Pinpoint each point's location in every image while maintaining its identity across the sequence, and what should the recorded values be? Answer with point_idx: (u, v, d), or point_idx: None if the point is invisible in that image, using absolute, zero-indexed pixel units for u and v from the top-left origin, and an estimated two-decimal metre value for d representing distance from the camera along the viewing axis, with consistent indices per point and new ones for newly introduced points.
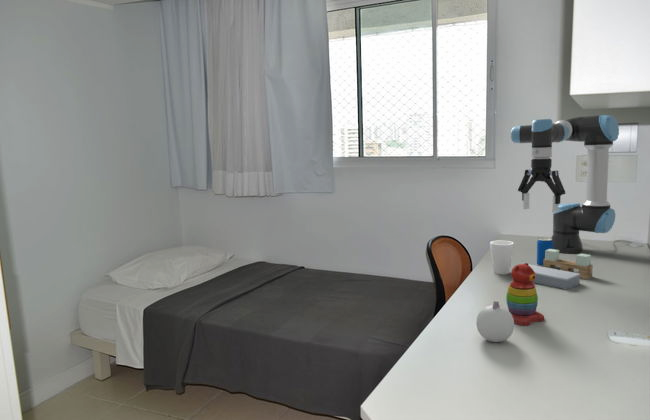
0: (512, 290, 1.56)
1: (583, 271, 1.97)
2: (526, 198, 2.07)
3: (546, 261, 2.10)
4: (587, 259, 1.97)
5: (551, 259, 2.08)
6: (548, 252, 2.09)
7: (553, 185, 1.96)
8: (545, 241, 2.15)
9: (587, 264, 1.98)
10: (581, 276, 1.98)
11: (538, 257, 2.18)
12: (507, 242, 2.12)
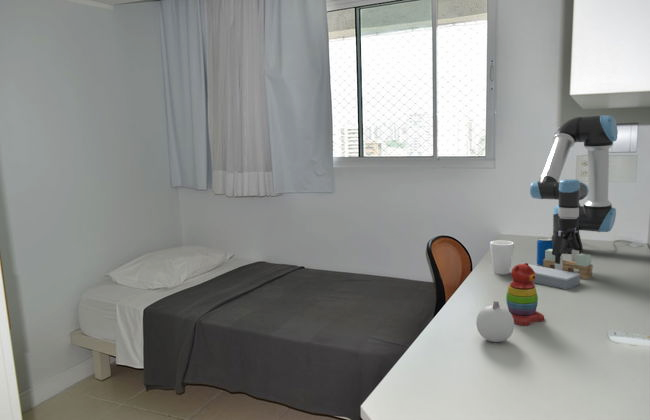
0: (512, 290, 1.56)
1: (583, 271, 1.97)
2: (573, 255, 2.09)
3: (546, 261, 2.10)
4: (587, 259, 1.97)
5: (551, 259, 2.08)
6: (548, 252, 2.09)
7: (560, 245, 2.00)
8: (545, 241, 2.15)
9: (587, 264, 1.98)
10: (581, 276, 1.98)
11: (538, 257, 2.18)
12: (507, 242, 2.12)
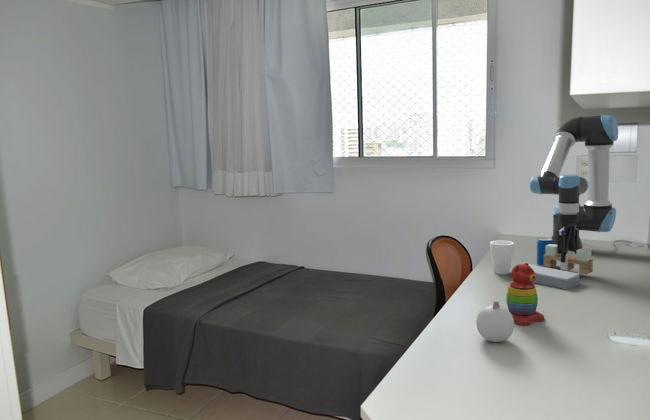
0: (512, 290, 1.56)
1: (584, 266, 1.97)
2: None
3: (546, 256, 2.10)
4: (587, 254, 1.97)
5: (551, 254, 2.08)
6: (548, 247, 2.09)
7: None
8: (545, 241, 2.15)
9: (587, 259, 1.98)
10: (581, 271, 1.99)
11: (538, 257, 2.18)
12: (507, 242, 2.12)
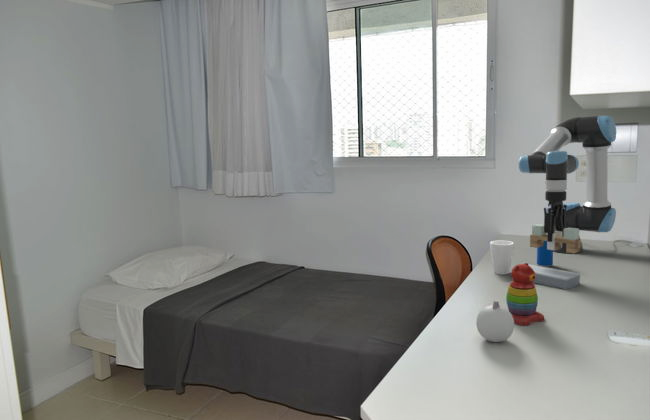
0: (512, 290, 1.56)
1: (571, 245, 1.90)
2: None
3: (533, 236, 2.03)
4: (575, 232, 1.90)
5: (538, 234, 2.01)
6: (535, 227, 2.02)
7: None
8: (545, 241, 2.15)
9: (575, 238, 1.91)
10: (569, 250, 1.91)
11: (538, 257, 2.18)
12: (507, 242, 2.12)
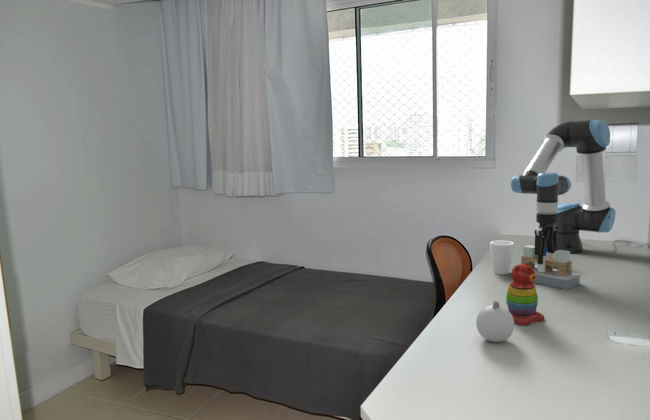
0: (512, 290, 1.56)
1: (562, 268, 1.89)
2: None
3: (524, 258, 2.01)
4: (566, 255, 1.89)
5: (529, 256, 1.99)
6: (526, 248, 2.00)
7: None
8: None
9: (566, 261, 1.89)
10: (560, 273, 1.90)
11: None
12: (507, 242, 2.12)
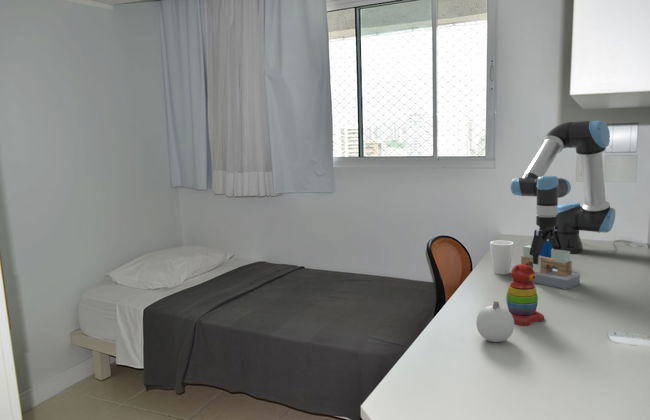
0: (512, 290, 1.56)
1: (562, 268, 1.89)
2: (553, 254, 2.00)
3: (524, 258, 2.01)
4: (566, 255, 1.89)
5: (529, 256, 1.99)
6: (526, 248, 2.00)
7: None
8: None
9: (566, 261, 1.89)
10: (560, 273, 1.90)
11: None
12: (507, 242, 2.12)
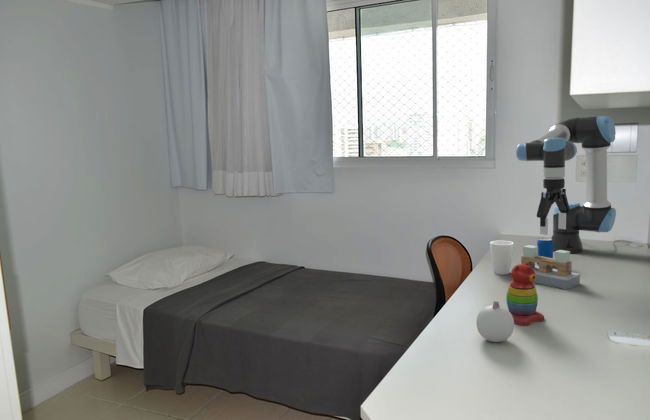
0: (512, 290, 1.56)
1: (562, 268, 1.89)
2: (560, 218, 1.99)
3: (524, 258, 2.01)
4: (566, 255, 1.89)
5: (529, 256, 1.99)
6: (526, 248, 2.00)
7: (545, 207, 1.91)
8: (545, 241, 2.15)
9: (566, 261, 1.89)
10: (560, 273, 1.90)
11: None
12: (507, 242, 2.12)
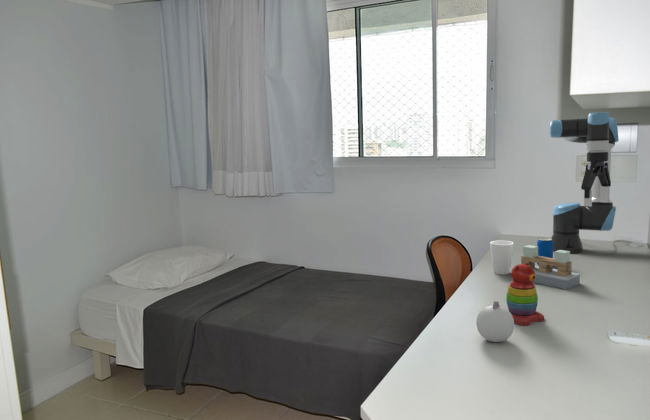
0: (512, 290, 1.56)
1: (562, 268, 1.89)
2: (602, 191, 2.04)
3: (524, 258, 2.01)
4: (566, 255, 1.89)
5: (529, 256, 1.99)
6: (526, 248, 2.00)
7: None
8: (545, 241, 2.15)
9: (566, 261, 1.89)
10: (560, 273, 1.90)
11: None
12: (507, 242, 2.12)
